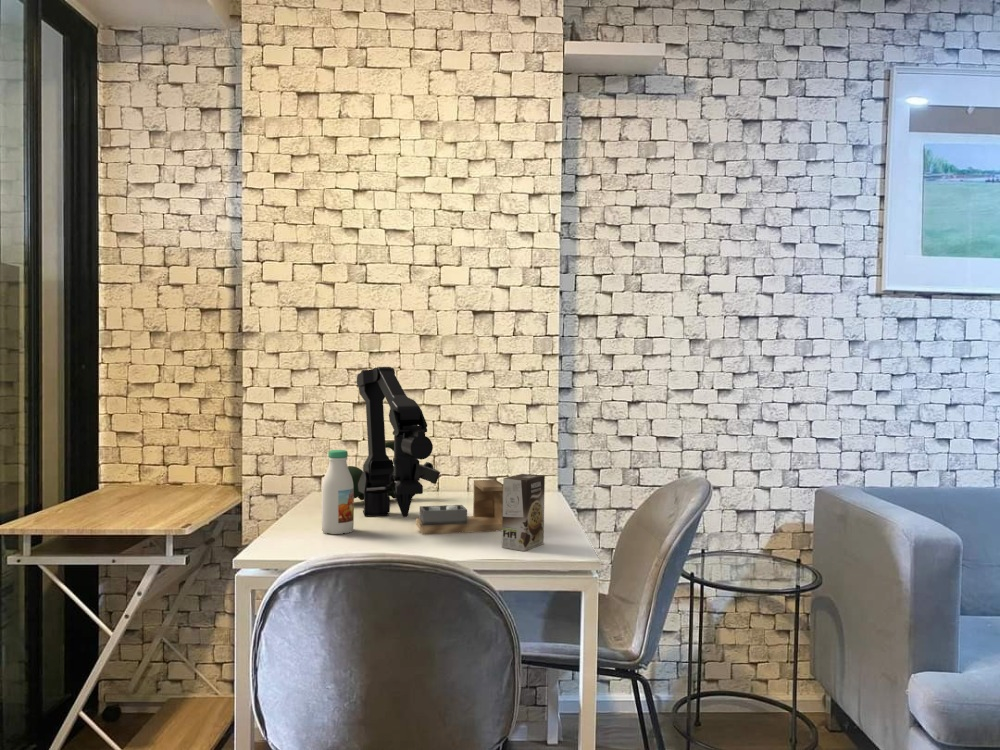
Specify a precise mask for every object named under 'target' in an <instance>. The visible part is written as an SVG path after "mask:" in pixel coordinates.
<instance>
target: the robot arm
mask: <svg viewBox="0 0 1000 750" xmlns="http://www.w3.org/2000/svg"><path fill="white" fill-rule="evenodd" d="M395 371H396V370H395V369H394V367H391V366H376V367H374V368H372V369H362V370H361V371H360V372H359V373H358V374H357V375H356V385H357V387H358V392H359V395H360V396H361V398H362V399H363V401H364V402H365V414H366V416H365V417H366V430H367V432H366V433H367V450H368V455H367V458H366V459H365V461H364V463H363V464H362V471H363V472H362V475H361V477H360V480H359V482H358V491H359V492H361V493H363V494H364V500H363V510H362V513H363V516H364V517H376V516H377V517H379V516H381V517H382V516H383V517H384V516H386V517H387V516H390V512H391V496H390V497H389V496H388V492H390V491H391V492H394V495H395V500H396V502H397V505H398V507H399V511H400V513H401V516H402V517H403V518H408V516H409V512H410V508H411V505H412V500H413V498H414V496H416V495H422V494H423V493H424V492H423V491H424V485H422V483H421V482H420V479H422V480H424V481H427V482H430V484H433V485H436V484H437V482H438V480H439V476H440V474H441V471H439V469H436V468H434V464H433V463H432V462H429V461H426V462H425V463H423V464H422V463H421V464H420V460H421V461H422V460H425V459H427V458H428V457H429V458H430V456H431V455H432V452H433V448H434V445H433V442H432V439H430V438H429V437H428V436H427V435H426V433H428V429H427V427H428V423H427V421H426V418H425V416H424V413H423V409H422V408H421V407H420V405H419V404H418V403H417V402H416V400H415V399H412V398H410V397H408V396H407V394H406V393H405V391H404V389H403V387H402V385H401V383H400V381H399V380H398V378H397V376H396V372H395ZM385 399H386V401H387V403H388V405H389V406H388V407H389V411H388V418H389V419H388V420H389V423H390V425H391V426H392V428H393V431H392V435H393V436H394V437H393V442H394V451H393V457H392V459H391V458H390V457H389V456H388V455H387V448H386V444H385V443H386V431H385V430H386V429H385V411H384V410H385V409H384V400H385ZM393 466H394V469H393ZM394 484H395V487H394Z"/></svg>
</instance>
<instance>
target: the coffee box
mask: <svg viewBox="0 0 1000 750" xmlns="http://www.w3.org/2000/svg"><path fill="white" fill-rule="evenodd" d="M502 479H503V483H502V484H503V523H502V532H501V534H502V535H501V536H502V537H501V547H502V548H504V549H509V550H510V549H511V550H515V551H521V552H527V551H529V550H530V549H534V548H536V546H537V547H539V546H542V545H544V544H545V490H546V488H545V484H546V483H545V481H546V480H545V479H546V475H542V474H532V473H529V474H528V473H520V474H516V475H515V474H514V475H512V476H507V477H506V476H505V477H503V478H502Z"/></svg>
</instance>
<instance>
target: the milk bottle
mask: <svg viewBox="0 0 1000 750" xmlns="http://www.w3.org/2000/svg"><path fill="white" fill-rule="evenodd" d="M348 454H349V453H348V450H347V449H332V450H328V454H327V455H328V460H329V463H328V467H327V470H326V472H325V474H324V476H323V480H322V485H321V531H323V532H325V533H324V534H327V533H331V534H330V535H343V533H345V534H349V532H350V533H352V532H353V531H354V525H355V524H354V522H355V521H354V520H355V517H354V516H355V515H354V512H355V511H354V507H355V505H354V504H355V501H354V500H355V498H354V487H353V480H352V476H351V474H350V472H349V470H348V467H347V466H348V462H347V461H348ZM323 532H322V533H323Z"/></svg>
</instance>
